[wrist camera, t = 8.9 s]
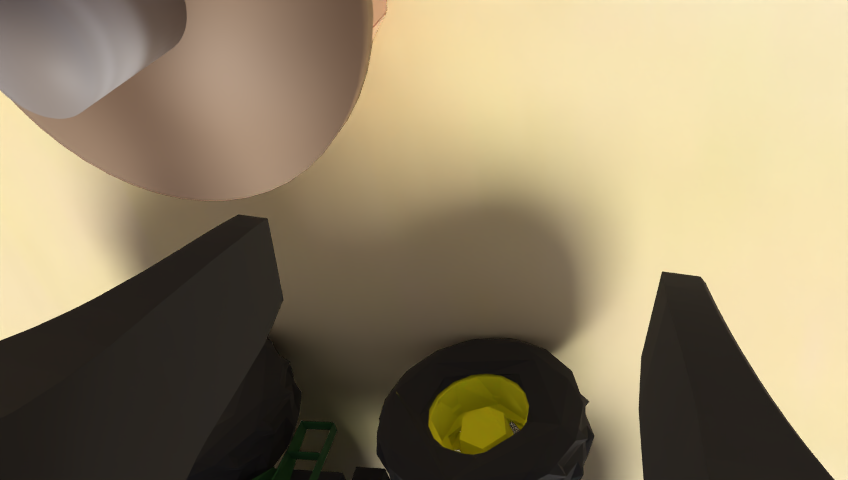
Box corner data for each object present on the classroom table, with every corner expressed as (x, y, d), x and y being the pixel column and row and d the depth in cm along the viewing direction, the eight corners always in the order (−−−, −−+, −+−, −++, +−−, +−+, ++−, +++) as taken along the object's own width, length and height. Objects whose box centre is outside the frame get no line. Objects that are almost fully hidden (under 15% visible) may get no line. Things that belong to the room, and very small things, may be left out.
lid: (321, -355, 12) (198, -383, 9) (401, 194, 19) (350, 298, 16) (-162, -270, 15) (-393, -267, 12) (56, 178, 22) (-51, 262, 19)
